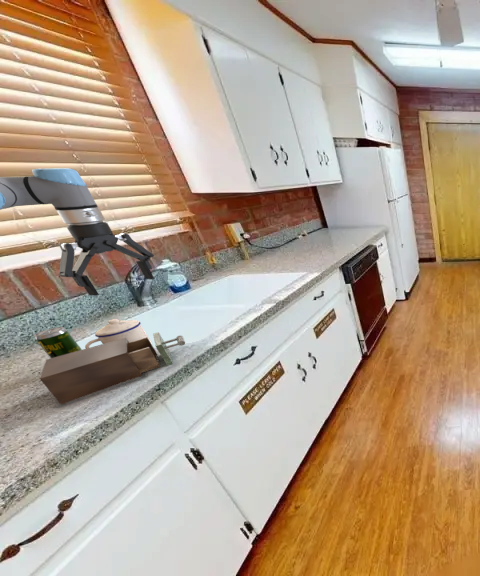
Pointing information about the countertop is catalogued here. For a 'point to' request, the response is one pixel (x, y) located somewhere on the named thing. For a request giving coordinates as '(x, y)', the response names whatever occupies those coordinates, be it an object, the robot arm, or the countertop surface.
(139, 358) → the drawer
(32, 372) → the countertop surface
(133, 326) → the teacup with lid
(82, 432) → the countertop surface
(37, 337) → the green soda can
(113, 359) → the cabinet
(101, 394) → the countertop surface
